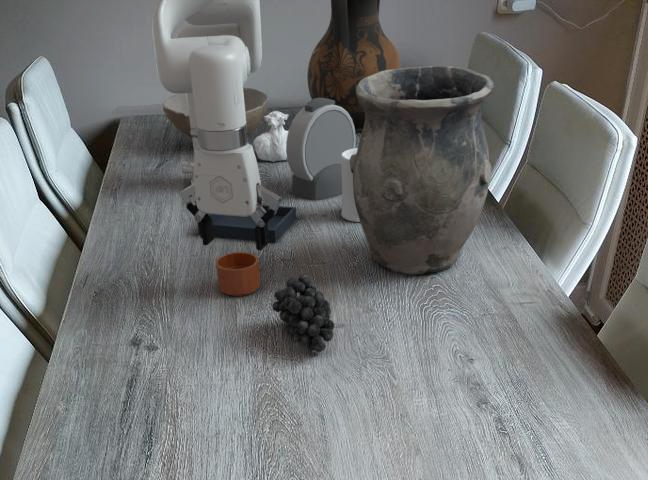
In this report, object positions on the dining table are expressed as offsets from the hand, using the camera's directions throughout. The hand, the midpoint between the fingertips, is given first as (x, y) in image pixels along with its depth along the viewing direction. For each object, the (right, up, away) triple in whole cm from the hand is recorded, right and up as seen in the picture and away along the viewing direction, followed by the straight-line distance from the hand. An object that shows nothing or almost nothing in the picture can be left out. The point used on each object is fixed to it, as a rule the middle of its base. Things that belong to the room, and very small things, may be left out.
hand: (235, 245), depth 133 cm
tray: (-1, +12, +27) cm, 29 cm away
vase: (+22, +56, +80) cm, 100 cm away
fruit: (+12, -17, -9) cm, 23 cm away
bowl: (-12, +48, +72) cm, 87 cm away
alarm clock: (+14, +25, +42) cm, 51 cm away
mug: (+24, +15, +30) cm, 41 cm away
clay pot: (+32, +1, +13) cm, 34 cm away
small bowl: (0, -6, +5) cm, 8 cm away
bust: (+4, +39, +60) cm, 71 cm away
